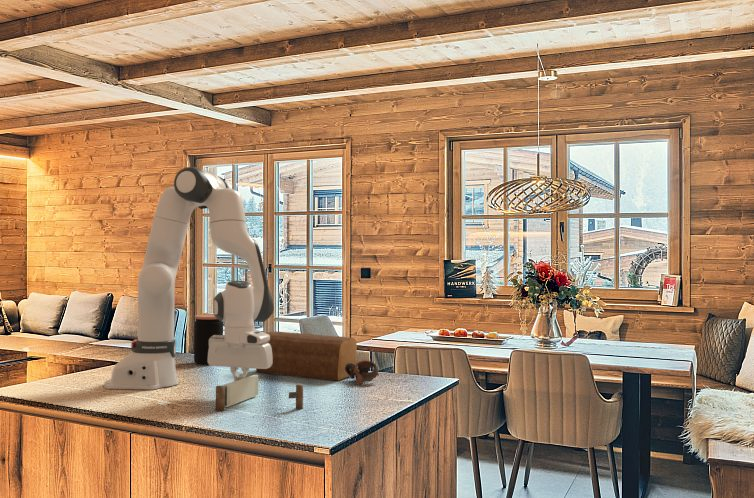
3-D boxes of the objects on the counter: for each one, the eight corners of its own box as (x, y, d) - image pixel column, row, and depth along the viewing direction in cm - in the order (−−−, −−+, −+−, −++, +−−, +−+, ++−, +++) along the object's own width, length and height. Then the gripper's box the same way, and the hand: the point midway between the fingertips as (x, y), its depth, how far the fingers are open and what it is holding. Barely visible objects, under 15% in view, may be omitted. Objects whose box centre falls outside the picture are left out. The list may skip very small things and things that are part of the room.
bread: (275, 366, 262) (276, 328, 261) (357, 375, 247) (358, 335, 247) (253, 372, 249) (254, 332, 249) (338, 382, 235) (339, 339, 234)
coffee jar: (228, 362, 268) (229, 315, 268) (208, 366, 259) (208, 317, 259) (208, 359, 273) (209, 313, 273) (187, 363, 264) (188, 315, 264)
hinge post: (215, 411, 190) (215, 387, 190) (215, 409, 192) (216, 385, 192) (224, 411, 191) (224, 387, 190) (224, 409, 193) (225, 385, 193)
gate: (226, 407, 194) (227, 385, 194) (223, 406, 194) (223, 384, 194) (258, 395, 210) (258, 374, 210) (254, 394, 210) (254, 374, 210)
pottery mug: (380, 381, 239) (383, 362, 235) (370, 398, 231) (373, 379, 227) (348, 370, 242) (350, 351, 238) (337, 386, 234) (339, 367, 230)
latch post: (288, 410, 193) (289, 386, 193) (288, 407, 196) (288, 384, 196) (303, 409, 194) (303, 386, 194) (302, 407, 196) (303, 384, 196)
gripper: (203, 335, 209) (203, 382, 209) (265, 338, 203) (265, 386, 203) (214, 333, 215) (214, 378, 215) (274, 335, 209) (275, 382, 209)
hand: (239, 382), depth 209 cm, fingers closed
